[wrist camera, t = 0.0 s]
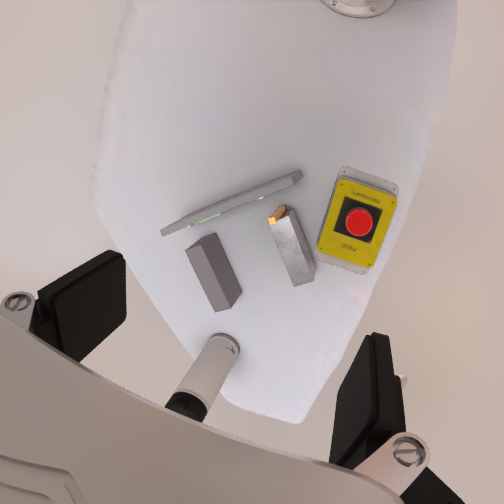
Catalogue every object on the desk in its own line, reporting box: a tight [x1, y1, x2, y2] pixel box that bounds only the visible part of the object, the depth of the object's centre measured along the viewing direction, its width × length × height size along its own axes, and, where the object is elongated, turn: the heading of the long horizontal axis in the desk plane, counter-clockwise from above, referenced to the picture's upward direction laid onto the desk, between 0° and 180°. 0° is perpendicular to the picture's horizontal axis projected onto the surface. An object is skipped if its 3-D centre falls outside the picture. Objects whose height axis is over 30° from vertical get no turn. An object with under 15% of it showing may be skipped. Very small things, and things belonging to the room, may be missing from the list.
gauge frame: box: [160, 170, 303, 312], centre depth 46 cm, size 16×20×9 cm
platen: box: [268, 205, 316, 287], centre depth 45 cm, size 11×3×8 cm, turn 23°
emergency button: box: [313, 167, 399, 275], centre depth 44 cm, size 9×4×15 cm
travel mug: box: [165, 334, 240, 423], centre depth 51 cm, size 6×7×20 cm
